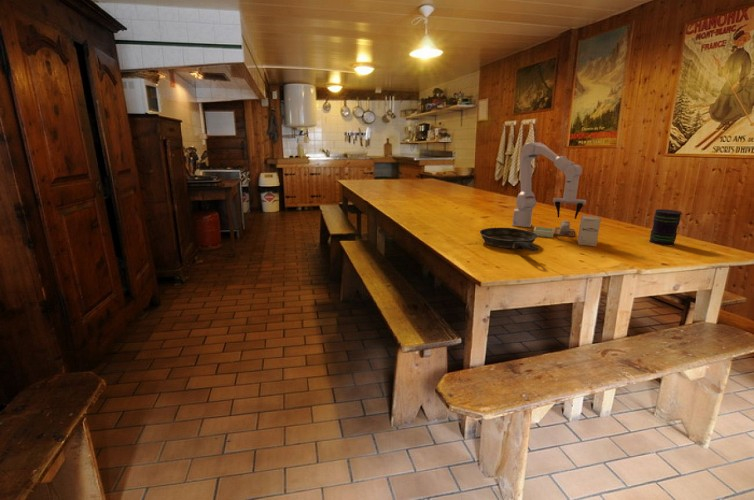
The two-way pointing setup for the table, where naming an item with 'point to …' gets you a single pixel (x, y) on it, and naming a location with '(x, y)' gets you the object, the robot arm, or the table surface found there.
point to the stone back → (565, 222)
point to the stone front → (564, 229)
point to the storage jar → (665, 227)
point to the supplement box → (588, 230)
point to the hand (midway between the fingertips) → (566, 217)
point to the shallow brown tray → (571, 234)
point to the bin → (544, 232)
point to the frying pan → (510, 238)
